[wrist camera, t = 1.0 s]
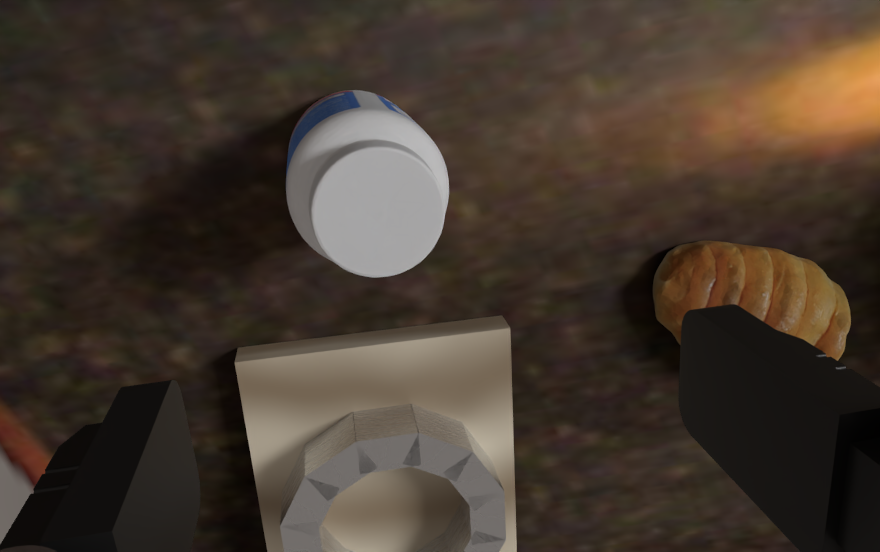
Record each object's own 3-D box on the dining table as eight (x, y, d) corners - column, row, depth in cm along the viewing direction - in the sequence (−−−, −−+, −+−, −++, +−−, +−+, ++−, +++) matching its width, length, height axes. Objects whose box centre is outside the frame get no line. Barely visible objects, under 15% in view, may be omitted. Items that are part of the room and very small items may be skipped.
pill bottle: (285, 213, 31) (275, 296, 22) (291, 82, 29) (282, 112, 20) (414, 222, 32) (455, 304, 23) (427, 95, 30) (477, 129, 21)
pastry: (615, 327, 35) (649, 360, 32) (683, 201, 34) (726, 221, 30) (764, 386, 38) (811, 423, 34) (833, 271, 37) (890, 297, 33)
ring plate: (237, 347, 32) (234, 362, 31) (502, 315, 34) (510, 328, 32) (285, 627, 38) (284, 650, 36) (511, 588, 39) (518, 609, 38)
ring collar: (270, 422, 32) (268, 454, 30) (488, 392, 33) (501, 420, 31) (299, 598, 35) (298, 638, 33) (495, 564, 37) (508, 601, 34)
